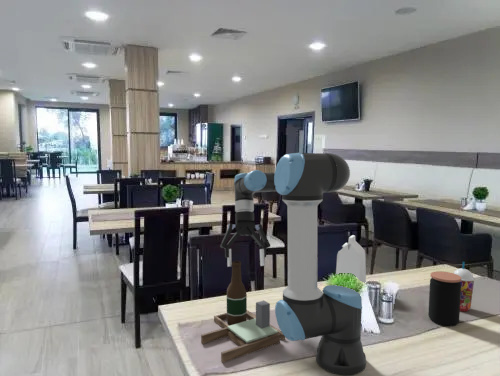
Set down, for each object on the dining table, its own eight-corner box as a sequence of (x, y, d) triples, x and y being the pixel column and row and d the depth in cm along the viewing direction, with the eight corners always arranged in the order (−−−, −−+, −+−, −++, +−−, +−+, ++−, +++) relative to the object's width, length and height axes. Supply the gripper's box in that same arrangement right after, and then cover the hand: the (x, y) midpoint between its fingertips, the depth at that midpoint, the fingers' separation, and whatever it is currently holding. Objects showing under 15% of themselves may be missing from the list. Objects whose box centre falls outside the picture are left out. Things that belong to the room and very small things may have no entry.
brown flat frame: (286, 340, 132) (286, 332, 132) (222, 362, 118) (222, 353, 117) (243, 312, 154) (243, 305, 154) (185, 328, 140) (185, 320, 140)
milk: (359, 297, 171) (361, 240, 169) (334, 292, 177) (336, 237, 175) (365, 288, 182) (367, 235, 179) (342, 284, 187) (343, 232, 185)
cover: (277, 332, 131) (277, 307, 130) (247, 342, 124) (247, 316, 123) (256, 319, 141) (256, 296, 140) (227, 327, 134) (227, 303, 133)
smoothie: (468, 315, 153) (470, 266, 151) (446, 308, 159) (448, 261, 157) (475, 309, 158) (478, 262, 156) (454, 303, 164) (456, 258, 163)
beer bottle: (244, 328, 140) (244, 265, 138) (224, 326, 142) (223, 264, 140) (248, 319, 148) (248, 259, 146) (229, 318, 149) (229, 258, 147)
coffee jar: (462, 320, 148) (465, 275, 146) (454, 329, 140) (457, 282, 138) (433, 312, 155) (435, 269, 153) (424, 321, 147) (426, 275, 146)
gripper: (269, 214, 160) (271, 266, 155) (211, 212, 152) (212, 267, 146) (276, 211, 154) (279, 265, 148) (217, 209, 145) (217, 266, 140)
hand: (246, 266), depth 147 cm, fingers open, 13 cm apart
